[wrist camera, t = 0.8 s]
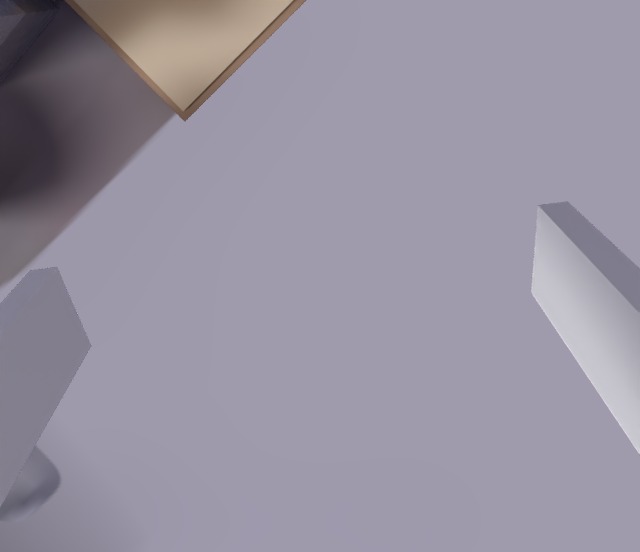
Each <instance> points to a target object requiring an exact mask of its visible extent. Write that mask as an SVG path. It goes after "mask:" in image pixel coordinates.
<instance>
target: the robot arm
mask: <svg viewBox="0 0 640 552" xmlns="http://www.w3.org/2000/svg"><path fill="white" fill-rule="evenodd" d="M531 293H532V295H533V296H534V298H535V299H536V301H537V302H538V304H539V305H540V307H541V308H542V310H543V311H544V313H545V314H546V315H547V317H548V319H549V320H550V322H551V323H552V324H553V326H554V328H555V329H556V330H557V332H558V334H559V335H560V337H561V338H562V339H563V341H564V342H565V344H566V345H567V347H568V348H569V350H570V351H571V353H572V354H573V356H574V357H575V359H576V360H577V362H578V363H579V365H580V366H581V368H582V369H583V371H584V372H585V374H586V375H587V377H588V378H589V380H590V381H591V383H592V384H593V386H594V387H595V389H596V390H597V392H598V393H599V394H600V396H601V398H602V399H603V401H604V402H605V404H606V405H607V407H608V408H609V410H610V411H611V413H612V414H613V416H614V417H615V419H616V420H617V422H618V423H619V425H620V426H621V427H622V429H623V430H624V432H625V433H626V435H627V436H628V438H629V439H630V441H631V442H632V444H633V445H634V447H635V448H636V450H637V451H638V453H639V454H640V269H639V267H638V266H636V265H635V264H634V263H633V262H632V261H631V260H630V259H629V258H628V257H627V256H626V255H625V254H624V253H622V252H621V251H620V250H619V249H618V248H617V247H616V246H615V245H614V244H613V243H612V242H611V241H610V240H609V239H607V238H606V237H605V236H604V235H603V234H602V233H601V232H600V231H599V230H598V229H597V228H596V227H595V226H593V225H592V224H591V223H590V222H589V221H588V220H587V219H586V218H585V217H584V216H582V215H581V214H580V213H579V212H578V211H577V210H576V209H575V208H574V207H573V206H572V205H571V204H570V203H569V202H560V203H551V204H543V205H538V212H537V226H536V238H535V251H534V264H533V277H532V291H531ZM90 347H91V344H90V342H89V339H88V337H87V335H86V332H85V330H84V328H83V325H82V323H81V321H80V319H79V316H78V314H77V312H76V309H75V307H74V305H73V303H72V300H71V298H70V296H69V294H68V291H67V289H66V287H65V284H64V282H63V280H62V277H61V275H60V273H59V270H58V268H57V267H52V268H45V269H38V270H30V271H29V272H28V273H27V274H26V276H25V277H24V278H23V279H22V280H21V281H20V282H19V284H17V286H16V287H15V288H14V289H13V290H12V291H11V292H10V293H9V295H8V296H7V297H6V298H5V299H4V300H3V301H2V302H1V303H0V507H1V505H2V503H3V501H4V500H5V498H6V496H7V494H8V492H9V491H10V489H11V487H12V485H13V484H14V482H15V480H16V478H17V477H18V475H19V473H20V471H21V469H22V468H23V466H24V464H25V462H26V461H27V459H28V457H29V455H30V454H31V452H32V450H33V448H34V446H35V445H36V443H37V441H38V439H39V438H40V436H41V434H42V432H43V431H44V429H45V427H46V425H47V423H48V422H49V420H50V418H51V416H52V415H53V413H54V411H55V409H56V408H57V406H58V404H59V402H60V400H61V399H62V397H63V395H64V393H65V391H66V390H67V388H68V386H69V385H70V383H71V381H72V379H73V377H74V376H75V374H76V372H77V370H78V368H79V367H80V365H81V363H82V362H83V360H84V358H85V356H86V354H87V353H88V351H89V349H90Z"/></svg>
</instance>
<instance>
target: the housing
mask: <svg viewBox="0 0 640 552" xmlns="http://www.w3.org/2000/svg"><path fill="white" fill-rule="evenodd" d="M59 10H60V8H59V7H58V6H57V5H56V4H55V3H54V2H53V1H52V0H0V83H1V82H2V80H3V79H4V78H5V77H6V75H7V74H8V73H9V72H10V70H11V69H12V68H13V67H14V66H15V64H16V63H17V62H18V61H19V59H20V58H21V57H22V56H23V54H24V53H25V52H26V51H27V49H28V48H29V47H30V46H31V45H32V43H33V42H34V41H35V40H36V38H37V37H38V36H39V35H40V33H41V32H42V31H43V30H44V29H45V27H46V26H47V25H48V24H49V22H50V21H51V20H52V19H53V17H54V16H55V15H56V14H57V13H58V11H59Z"/></svg>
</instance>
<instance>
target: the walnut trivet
mask: <svg viewBox="0 0 640 552" xmlns="http://www.w3.org/2000/svg"><path fill="white" fill-rule="evenodd" d="M65 1H66V2H67V3H68V4H69V5H70V6H71V7H72V8H73V9H74V10H75V11H76V12H77V13H78V14H79V15H80V16H81V17H82V18H83V19H84V20H85V21H86V22H87V23H88V24H89V25H90V26H91V27H92V28H93V29H94V30H95V31H96V32H97V33H98V35H99V36H100V37H101V38H102V39H103V40H104V41H105V42H106V43H107V44H108V45H109V46H110V47H111V48H112V49H113V50H114V51H115V52H116V53H117V54H118V55H119V56H120V57H121V58H122V59H123V60H124V61H125V62H126V63H127V64H128V65H129V66H130V67H131V68H132V69H133V70H134V71H135V72H136V73H137V74H138V75H139V76H140V77H141V78H142V79H143V80H144V81H145V82H146V83H147V84H148V85H149V86H150V87H151V88H152V89H153V90H154V91H155V92H156V93H157V94H158V95H159V96H160V97H161V98H162V99H163V100H164V101H165V102H166V103H167V104H168V105H169V106H170V107H171V108H172V109H173V110H174V111H175V112H176V113H177V114H178V115H179V116H180V117H181V118H182V119H183V120H184V121H186V120H187V119H188V118H189V117H190V116H191V115H192V114H193V113H194V112H195V111H196V110H197V109H198V108H199V107H200V106H201V105H202V104H203V103H204V102H205V101H206V99H208V98H209V97H210V96H211V95H212V94H213V93H214V92H215V91H216V90H217V89H218V88H219V87H220V86H221V85H222V84H223V83H224V82H225V81H226V80H227V79H228V78H229V77H230V76H231V75H232V74H233V73H234V72H235V71H236V70H237V69H238V68H239V67H240V66H241V65H242V64H243V63H244V62H245V61H246V60H247V59H248V58H249V57H250V56H251V55H252V54H253V53H254V52H255V51H256V50H257V49H258V48H259V47H260V46H261V45H262V44H263V43H264V42H265V41H266V40H267V39H268V38H269V37H270V36H271V35H272V34H273V33H274V32H275V31H276V30H277V29H278V28H279V27H280V26H281V25H282V24H283V23H284V22H285V21H286V20H287V19H288V18H289V17H290V16H291V15H292V14H293V13H294V12H295V11H296V10H297V9H298V8H299V7H300V6H301V5H302V4H303V3H304V2H305V1H306V0H65Z"/></svg>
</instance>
